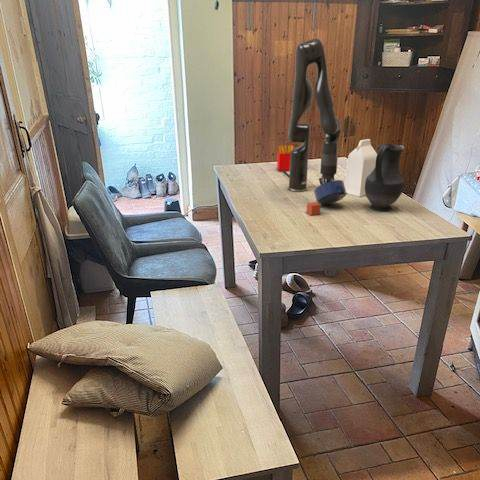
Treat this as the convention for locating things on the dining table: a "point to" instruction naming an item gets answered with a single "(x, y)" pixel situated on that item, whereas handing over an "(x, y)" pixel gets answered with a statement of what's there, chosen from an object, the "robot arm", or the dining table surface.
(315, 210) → the block
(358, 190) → the milk
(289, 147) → the french fries container
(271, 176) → the dining table surface
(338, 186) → the bowl
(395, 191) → the pitcher
